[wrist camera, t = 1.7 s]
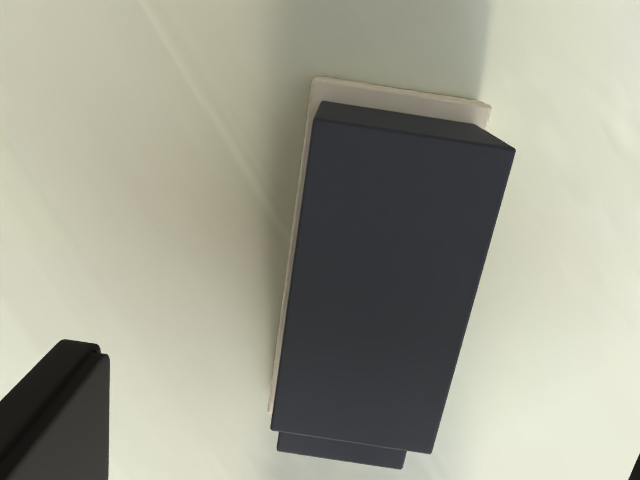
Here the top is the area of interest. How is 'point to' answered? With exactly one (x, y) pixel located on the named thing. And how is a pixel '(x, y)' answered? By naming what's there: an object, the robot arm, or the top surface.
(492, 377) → the top surface
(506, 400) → the top surface
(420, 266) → the stepped dark grey block
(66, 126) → the top surface
